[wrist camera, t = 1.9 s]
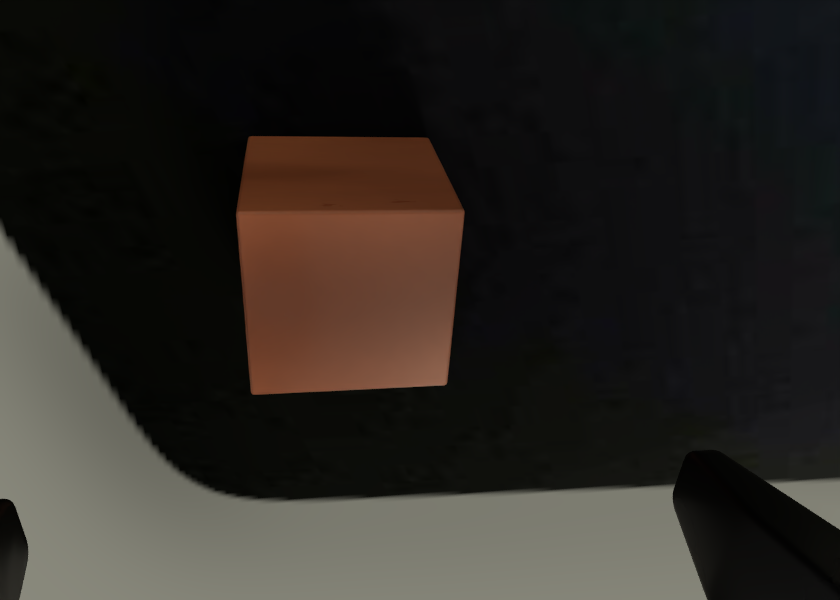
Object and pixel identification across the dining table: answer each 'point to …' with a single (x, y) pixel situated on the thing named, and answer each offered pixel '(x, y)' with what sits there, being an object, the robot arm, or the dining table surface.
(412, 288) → the block
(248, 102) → the dining table surface
